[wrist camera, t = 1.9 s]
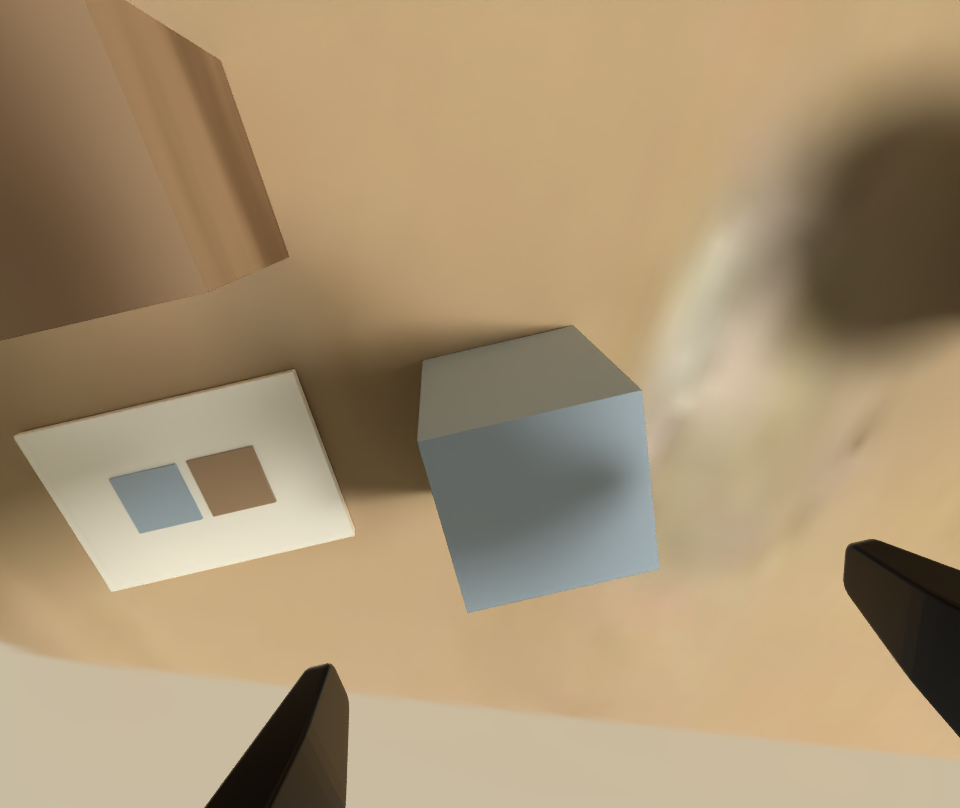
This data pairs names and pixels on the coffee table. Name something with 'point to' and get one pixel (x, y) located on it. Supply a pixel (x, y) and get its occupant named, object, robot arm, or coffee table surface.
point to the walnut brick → (118, 167)
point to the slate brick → (537, 467)
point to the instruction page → (192, 480)
